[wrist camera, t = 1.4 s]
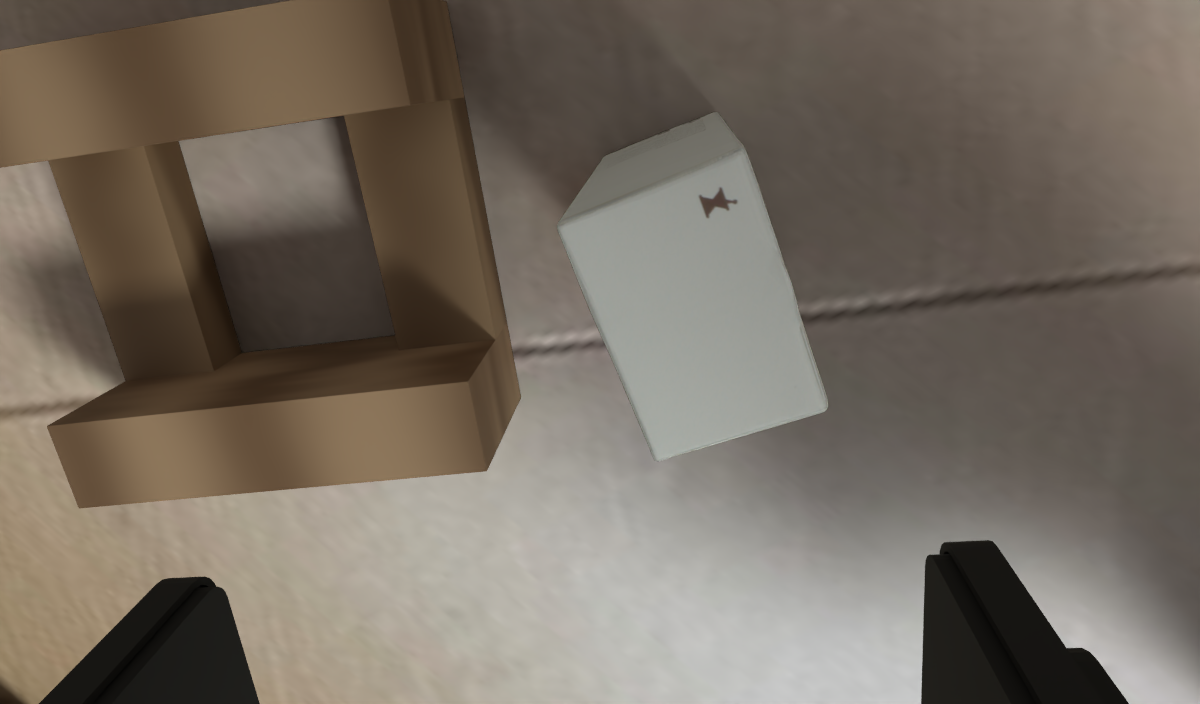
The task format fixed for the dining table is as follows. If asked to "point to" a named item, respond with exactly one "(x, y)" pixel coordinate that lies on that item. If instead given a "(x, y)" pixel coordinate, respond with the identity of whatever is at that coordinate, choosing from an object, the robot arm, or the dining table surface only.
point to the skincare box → (691, 290)
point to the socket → (188, 272)
